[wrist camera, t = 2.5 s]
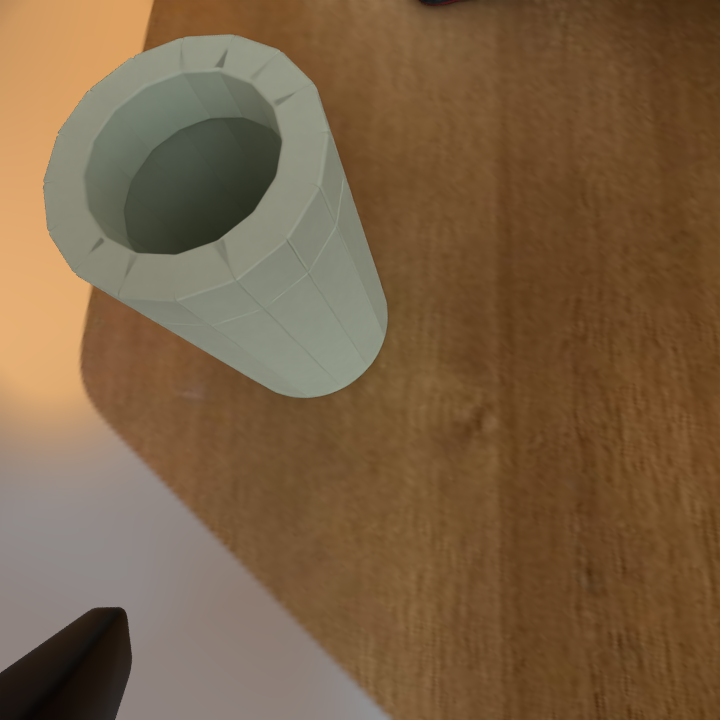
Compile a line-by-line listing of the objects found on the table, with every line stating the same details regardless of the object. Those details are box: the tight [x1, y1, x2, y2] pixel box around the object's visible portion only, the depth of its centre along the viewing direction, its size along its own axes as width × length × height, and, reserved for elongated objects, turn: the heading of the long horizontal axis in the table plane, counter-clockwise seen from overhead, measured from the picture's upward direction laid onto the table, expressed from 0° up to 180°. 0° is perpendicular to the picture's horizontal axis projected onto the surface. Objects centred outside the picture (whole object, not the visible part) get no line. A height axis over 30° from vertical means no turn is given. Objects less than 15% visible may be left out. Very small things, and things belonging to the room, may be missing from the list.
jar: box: [43, 34, 388, 398], centre depth 17 cm, size 7×7×11 cm
